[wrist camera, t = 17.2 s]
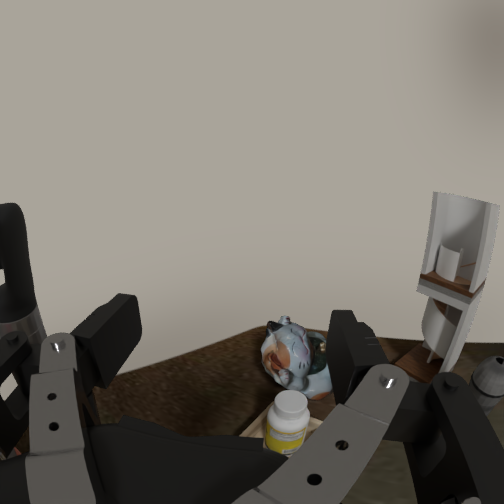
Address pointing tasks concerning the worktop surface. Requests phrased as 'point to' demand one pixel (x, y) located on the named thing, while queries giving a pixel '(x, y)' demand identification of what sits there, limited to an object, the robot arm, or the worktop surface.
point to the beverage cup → (488, 382)
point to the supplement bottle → (287, 422)
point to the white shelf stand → (451, 281)
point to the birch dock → (260, 423)
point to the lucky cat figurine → (296, 358)
